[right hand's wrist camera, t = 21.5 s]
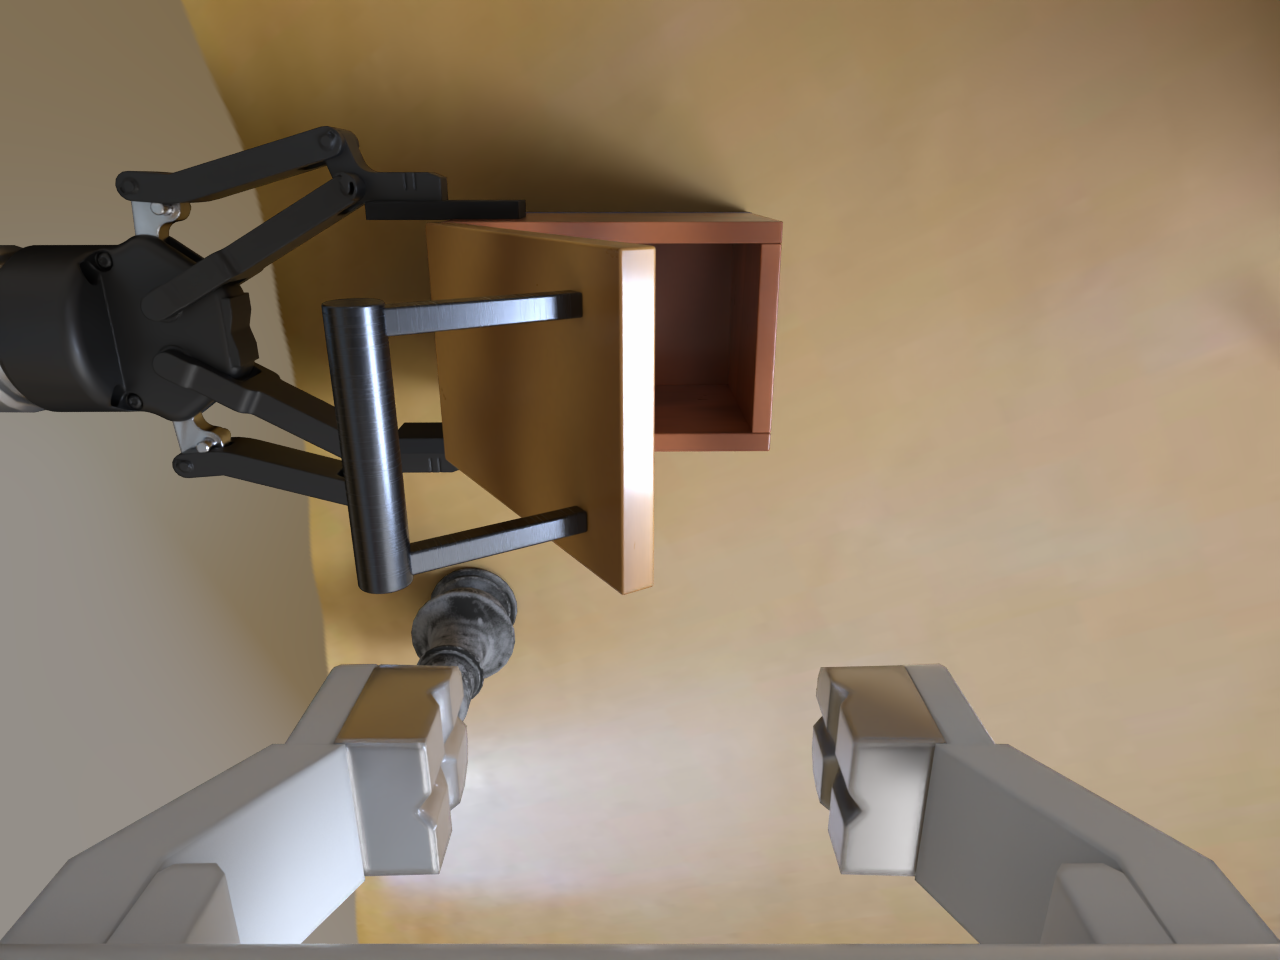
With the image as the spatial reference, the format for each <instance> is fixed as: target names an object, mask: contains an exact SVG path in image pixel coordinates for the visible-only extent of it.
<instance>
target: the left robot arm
mask: <svg viewBox="0 0 1280 960" xmlns="http://www.w3.org/2000/svg"><path fill="white" fill-rule="evenodd" d="M324 166H327V167H328V169H329V171H330V174H331V176H332V178H333V179H331V180H330V181H328V182H327V183H325V184H323V185H322V186H320V187H319V188H317V189H316V190H314V191H313V192H311V193H309V194H308V195H306V196H305V197H303V198H302V199H300V200H299V201H297V202H295V203H294V204H292V205H291V206H289V207H288V208H286V209H285V210H283V211H281V212H280V213H278V214H277V215H275V216H274V217H272V218H271V219H269V220H267V221H266V222H264V223H263V224H261V225H260V226H258V227H257V228H255V229H253V230H252V231H250V232H249V233H247V234H246V235H244V236H242V237H241V238H239V239H238V240H236V241H235V242H233V243H232V244H230V245H229V246H227V247H225V248H223V249H221V250H219V251H217V252H215V253H213V254H211V255H209V256H207V257H206V258H203V257H201V256H200V255H198V254H197V253H195V252H194V251H192V250H191V249H189V248H188V247H186V246H185V245H183V244H182V243H180V242H178V241H177V240H175V239H174V238H172V237H170V236H169V229H170V227H171V225H172V224H173V223H175V222H178V221H182V220H185V219H186V218H187V217H188V216H189V214H190V210H191V205H190V203H194V202H207V201H212V200H216V199H220V198H223V197H227V196H230V195H233V194H236V193H240V192H243V191H246V190H249V189H253V188H256V187H259V186H262V185H266V184H269V183H272V182H275V181H278V180H282V179H285V178H288V177H291V176H295V175H298V174H301V173H304V172H308V171H311V170H314V169H317V168H321V167H324ZM116 188H117V191H118V192H119V194H120V195H121V196H122V197H123V198H125V199H126V200H130V201H131V203H132V211H133V219H134V227H135V235H136V236H133V237H131V238H129V239H128V240H127V241H125V242H123V243H121V244H119V245H32V246H28V247H25V248H21V247H18V246H15V245H0V412H39V411H43V410H49V411H54V412H131V411H145V412H150V413H153V414H156V415H159V416H161V417H163V418H165V419H167V420H170V421H173V425H174V428H175V432H176V436H177V439H178V443H179V446H180V450H181V453H180V454H179V455H177V456H176V457H175V458H174V460H173V462H172V464H173V469H174V471H175V472H176V473H177V474H178V475H179V476H182V477H184V478H195V477H208V476H221V475H225V476H229V477H233V478H237V479H241V480H245V481H249V482H253V483H257V484H261V485H265V486H269V487H273V488H277V489H282V490H286V491H290V492H294V493H298V494H302V495H306V496H310V497H314V498H318V499H322V500H327V501H331V502H335V503H339V504H343V505H347V506H348V504H347V496H346V489H345V481H344V474H343V466H342V461H341V460H337V459H333V458H329V457H325V456H321V455H317V454H313V453H309V452H305V451H301V450H297V449H293V448H289V447H285V446H281V445H277V444H273V443H269V442H265V441H261V440H257V439H252V438H244V437H231V433H230V431H229V430H228V429H226V428H222V427H218V426H213V425H211V424H209V423H207V422H206V421H205V419H204V418H203V416H202V413H203V412H204V411H205V410H207V409H208V408H209V407H210V406H212V405H213V404H214V403H215V402H218V403H220V404H222V405H224V406H226V407H228V408H230V409H232V410H234V411H237V412H240V413H248V414H252V415H255V416H257V417H259V418H261V419H263V420H265V421H267V422H269V423H271V424H273V425H275V426H277V427H279V428H281V429H283V430H285V431H287V432H289V433H291V434H293V435H296V436H298V437H300V438H302V439H304V440H306V441H308V442H310V443H312V444H314V445H316V446H318V447H320V448H322V449H324V450H326V451H328V452H330V453H332V454H334V455H336V456H338V457H340V458H341V451H340V443H339V436H338V428H337V421H336V413H335V407H334V406H332V405H330V404H328V403H326V402H324V401H322V400H320V399H318V398H316V397H314V396H312V395H310V394H308V393H306V392H304V391H302V390H300V389H298V388H296V387H294V386H292V385H290V384H288V383H286V382H284V381H283V380H281V379H280V377H279V375H278V374H276V373H275V372H273V371H271V370H269V369H267V368H265V367H263V366H261V365H259V364H257V363H255V362H254V361H255V360H256V359H258V358H259V355H258V349H257V342H256V340H255V338H254V335H253V333H252V331H251V329H250V315H251V305H250V299H249V293H244V292H243V290H242V288H241V286H240V284H242V283H244V282H245V281H247V280H248V279H250V278H251V277H253V276H255V275H256V274H258V273H259V272H261V271H262V270H263V269H264V268H265V267H266V266H268V265H269V264H271V263H273V262H274V261H276V260H277V259H279V258H281V257H282V256H284V255H285V254H287V253H288V252H290V251H292V250H293V249H295V248H296V247H298V246H300V245H301V244H303V243H304V242H306V241H307V240H309V239H311V238H312V237H314V236H315V235H317V234H319V233H320V232H322V231H323V230H325V229H326V228H328V227H330V226H331V225H333V224H334V223H336V222H338V221H339V220H341V219H342V218H344V217H345V216H347V215H349V214H350V213H352V212H353V211H355V210H357V209H358V208H360V207H361V206H363V205H364V204H365V210H366V220H452V219H521V218H524V217H526V205H525V200H448V190H447V178H446V177H444V176H442V175H439V174H437V173H430V172H376V171H374V170H372V169H371V168H369V167H368V165H367V164H366V163H365V161H364V159H363V157H362V155H361V153H360V150H359V142H358V139H357V137H356V136H355V135H354V134H353V133H352V132H351V131H348V130H345V129H340V128H334V127H329V126H323V127H319V128H315V129H312V130H309V131H306V132H303V133H299V134H296V135H293V136H290V137H287V138H283V139H280V140H277V141H274V142H271V143H267V144H264V145H261V146H258V147H255V148H251V149H248V150H245V151H242V152H239V153H235V154H232V155H229V156H226V157H223V158H219V159H216V160H213V161H210V162H207V163H203V164H200V165H197V166H194V167H191V168H187V169H184V170H181V171H178V172H175V173H168V172H148V171H125V172H122V173H120V174H119V175H118V176H117V178H116ZM398 436H399V445H400V455H401V464H402V473H405V472H454V471H457V470H459V469H458V468H456V467H455V466H454V465H452V464H451V463H450V462H449V461H447V460H446V459H445V449H444V438H443V426H442V423H404V424H403V425H402V426H401V427H400V428H399V429H398Z"/></svg>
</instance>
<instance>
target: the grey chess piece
mask: <svg viewBox="0 0 1280 960" xmlns="http://www.w3.org/2000/svg"><path fill="white" fill-rule="evenodd" d="M516 614H517V602H516V599H515V596H514V593H513V591H512V590H511V589H510V587H509V586H508V584H507V583H506V582H505V581H503V580H502V579H501V578H500V577H499V576H497V575H495V574H493V573H491V572H489V571H486V570H481V569H477V568H472V569H461V570H458V571H454V572H452V573H450V574H448V575H447V576H445V577H444V578H443V579H442V580H441V581H440V582H439V583H438V584H437V585H436V587H435V589H434V591H433V593H432V595H431V600H429V601H428V602H427V603H426V604H425V605H424V606H423V607H422V608H421V609H420V610H419V611H418V613H417V615H416V617H415V619H414V621H413V626H412V631H411V634H412V643H413V646H414V648H415V651H416V653H417V655H418V657H419V658H420V660H419V662H418V664H417V665H430V666H458V668H459V670H460V672H461V675H462V683H463V692H464V697H463V700H462V703H461V707H460V710H459V713H458V717H459V718H460V719H461V720H462V721H463V720H464V719H465V717H466V714H467V711H468V708H469V704H470V701H471V699H473V698H474V697H475V696H476V695H477V694H478V693H479V691H480V690H481V688H482V686H483V681H484V678H487V677H489V676H491V675H493V674H495V673H497V672H498V671H499V670H500V669H501V668H502V667H503V666H504V665H505V664H506V663H507V662H508V660H509V658H510V656H511V655H512V652H513V648H514V644H515V634H514V628H513V624H514V622H515V618H516Z"/></svg>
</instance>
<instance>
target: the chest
mask: <svg viewBox="0 0 1280 960" xmlns="http://www.w3.org/2000/svg"><path fill="white" fill-rule="evenodd" d="M444 222H453V223H462V224H470V225H479V226H488V227H496V228H505V229H513V230H522V231H531V232H539V233H548V234H557V235H565V236H574V237H582V238H591V239H600V240H608V241H617V242H626V243H634V244H643V245H651V246H654V247H655V249H656V260H655V415H654V451H769V450H770V435H771V434H770V432H771V419H772V401H773V384H774V367H775V349H776V332H777V314H778V297H779V279H780V262H781V244H780V243H782V229H783V222H782V221H778V220H775V219H771V218H767V217H763V216H760V215H756V214H752V213H750V212H526V217H524V218H521V219H452V220H448V221H444Z"/></svg>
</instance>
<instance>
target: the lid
mask: <svg viewBox="0 0 1280 960" xmlns="http://www.w3.org/2000/svg"><path fill="white" fill-rule="evenodd" d="M425 228H426V240H427V252H428V263H429V275H430V286H431V298H432V301H420V302H407V303H394V304H385V303H384V301H382V300H379V299H372V298H350V299H338V300H331V301H327V302H324V303H322V305H321V307H322V314H323V322H324V330H325V337H326V345H327V352H328V360H329V367H330V375H331V383H332V390H333V398H334V405H335V413H336V421H337V428H338V436H339V443H340V451H341V459H342V466H343V474H344V481H345V489H346V496H347V504H348V512H349V519H350V527H351V534H352V542H353V550H354V557H355V565H356V572H357V580H358V586H359V588H360V589H361V590H362V591H364V592H367V593H372V594H385V593H392V592H396V591H399V590H401V589H404V588H405V587H407V586H408V585H410V584H411V582H412V581H413V575H415V574H419V573H423V572H427V571H431V570H435V569H440V568H444V567H448V566H452V565H456V564H460V563H464V562H468V561H472V560H476V559H480V558H484V557H488V556H492V555H496V554H500V553H504V552H508V551H512V550H516V549H520V548H524V547H528V546H532V545H536V544H540V543H544V542H548V541H553V542H554V543H555V544H557V545H558V546H559V547H560V548H562V549H563V550H564V551H566V552H567V553H568V554H570V555H571V556H572V557H573V558H575V559H576V560H577V561H579V562H580V563H581V564H583V565H584V566H585V567H586V568H588V569H589V570H590V571H592V572H593V573H594V574H596V575H597V576H598V577H599V578H601V579H602V580H603V581H605V582H606V583H607V584H609V585H610V586H611V587H613V588H614V589H615V590H616V591H618V592H619V593H620V594H622V595H625V594H628V593H632V592H635V591H638V590H642V589H645V588H648V587H652V586H653V569H654V415H655V260H656V249H655V247H654V246H651V245H643V244H634V243H626V242H617V241H608V240H600V239H591V238H582V237H574V236H565V235H557V234H548V233H539V232H531V231H522V230H513V229H505V228H496V227H488V226H479V225H470V224H462V223H453V222H440V223H426V224H425ZM429 332H434V333H435V345H436V356H437V368H438V380H439V391H440V403H441V415H442V426H443V438H444V449H445V459H446V460H447V461H449V462H450V463H451V464H452V465H454V466H455V467H456V468H458V469H459V470H460V471H462V472H463V473H464V474H465V475H467V476H468V477H469V478H471V479H472V480H473V481H475V482H476V483H477V484H478V485H480V486H481V487H482V488H484V489H485V490H486V491H488V492H489V493H490V494H491V495H493V496H494V497H495V498H497V499H498V500H499V501H501V502H502V503H503V504H504V505H506V506H507V507H508V508H510V509H511V510H512V511H514V512H515V513H516V514H518V515H519V516H520V517H521V518H519V519H515V520H510V521H506V522H501V523H497V524H493V525H488V526H484V527H479V528H475V529H471V530H466V531H462V532H457V533H453V534H449V535H444V536H440V537H436V538H431V539H427V540H422V541H418V542H414V543H410V540H409V531H408V521H407V512H406V502H405V493H404V483H403V474H402V464H401V455H400V445H399V436H398V426H397V417H396V407H395V398H394V388H393V379H392V370H391V360H390V351H389V341H388V336H398V335H408V334H419V333H429Z"/></svg>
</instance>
